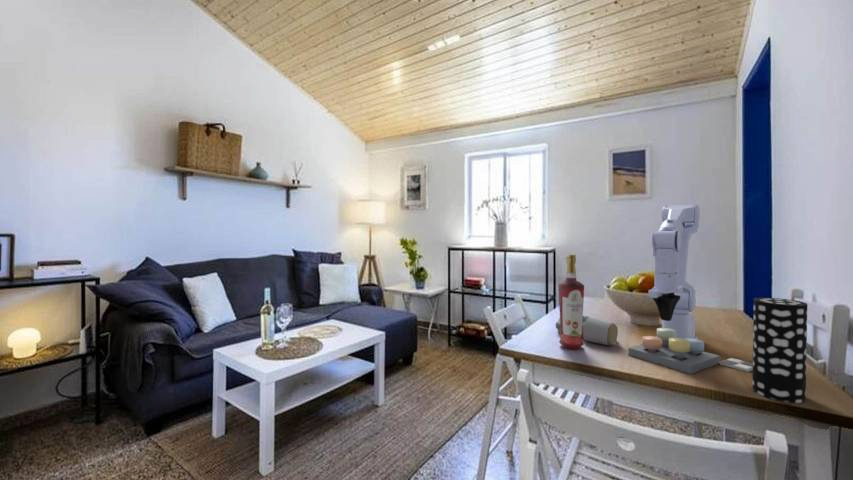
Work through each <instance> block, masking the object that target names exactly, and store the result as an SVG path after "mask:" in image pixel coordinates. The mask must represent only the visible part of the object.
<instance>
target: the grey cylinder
mask: <svg viewBox="0 0 853 480" xmlns="http://www.w3.org/2000/svg"><path fill="white" fill-rule="evenodd" d="M618 333H619V329H618V326H617V324H616V323H614V322H612V321H609V320H605V319H600V318H596V317H594V318H593V316H590V317H588V318H587V319H586V321H585V324H584V328H583V336H584V338H583V340H585V341H586V342H590V343H595V344H599V345H603V346H613V345H614V344H616V341H617V339H618V335H619V334H618Z"/></svg>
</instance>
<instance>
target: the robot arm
mask: <svg viewBox="0 0 853 480" xmlns="http://www.w3.org/2000/svg"><path fill="white" fill-rule="evenodd" d="M661 219H662V223H661V225H660V227H659V229H658V230H656V231H655V232H653V233H652V235H651V247H652V257H654V280H653V281H654V282H653V283H654V286H653V287H652V288H651V289H648V293H647V294H648V296H647V297H648V298H652V300H653V301H654V303H655V304H656V307H657V310H658V314H659V316H660V317H659V318H660V320H661V322H662V323H661V325H662V326H661V328H669V329H673V330H675V331H676V338H682V339H686V338H690V339H697V340H699V337H697V336H696V335H695V334H696V319H695V316H694V314H693V312H695V310H696V304H697V303H696V298H697V297H696V289H695V288H694V286H693V285H691V284H690V283H688V282H687V281H686V279H687V270H688V269H687V266H688V258H689V256H688V255H689V245H690V240H691V236H692V235H694V234H695V233H697V232H698V229H699V225H700V206H699V205H698V204H697V203H695V204H679V205H677V204H676V205H664V206H663V207H662V210H661ZM655 337H657V335H656V336H655Z"/></svg>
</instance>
